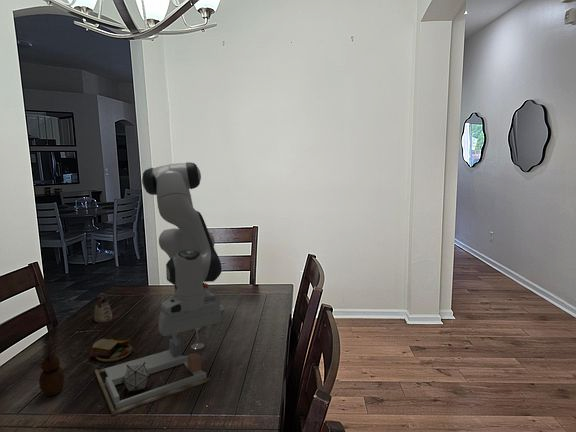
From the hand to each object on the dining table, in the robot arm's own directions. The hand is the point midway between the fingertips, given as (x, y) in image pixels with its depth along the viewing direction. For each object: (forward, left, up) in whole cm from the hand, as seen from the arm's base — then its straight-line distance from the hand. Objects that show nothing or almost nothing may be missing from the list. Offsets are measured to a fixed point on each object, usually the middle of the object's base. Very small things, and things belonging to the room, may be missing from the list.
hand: (191, 341), depth 127 cm
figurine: (+16, -63, -11) cm, 66 cm away
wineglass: (-8, -16, -11) cm, 21 cm away
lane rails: (+12, -5, -11) cm, 17 cm away
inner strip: (+12, -13, -11) cm, 20 cm away
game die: (+18, 0, -11) cm, 21 cm away
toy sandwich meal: (+19, -28, -11) cm, 36 cm away
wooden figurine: (+39, -14, -11) cm, 43 cm away
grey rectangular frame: (+12, 0, -11) cm, 16 cm away
